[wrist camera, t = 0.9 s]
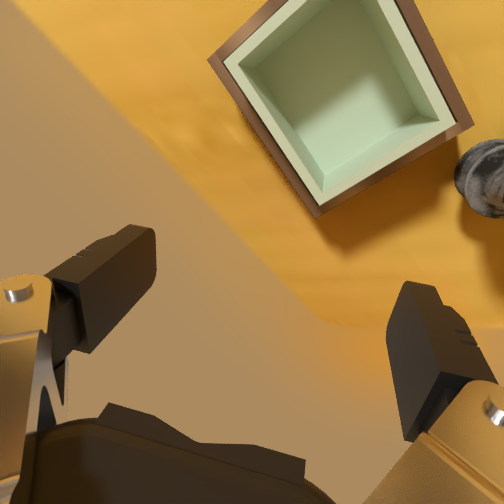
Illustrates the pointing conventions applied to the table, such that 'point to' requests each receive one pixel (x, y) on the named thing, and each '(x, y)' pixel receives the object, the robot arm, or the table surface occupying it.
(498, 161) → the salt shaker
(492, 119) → the table surface
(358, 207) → the table surface
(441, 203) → the table surface
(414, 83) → the green crate
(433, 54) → the box
